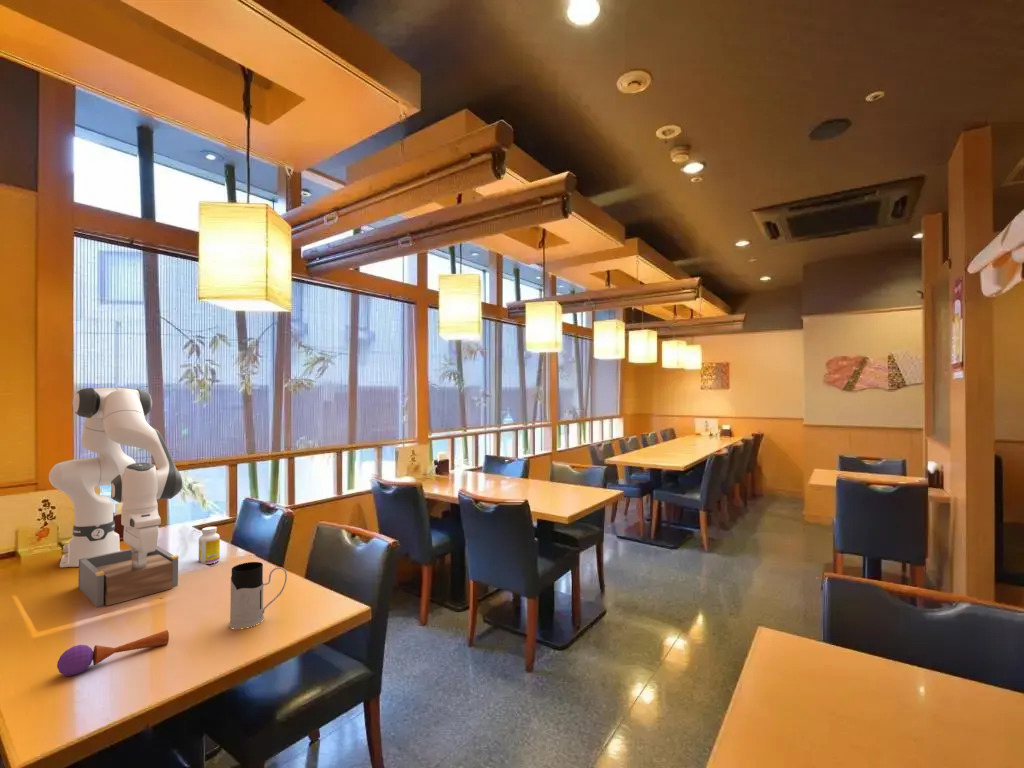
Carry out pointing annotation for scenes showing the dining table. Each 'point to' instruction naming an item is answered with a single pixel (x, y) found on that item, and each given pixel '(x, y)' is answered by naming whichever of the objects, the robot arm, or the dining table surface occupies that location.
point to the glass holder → (248, 594)
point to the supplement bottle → (209, 546)
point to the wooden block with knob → (136, 578)
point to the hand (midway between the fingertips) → (139, 562)
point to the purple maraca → (102, 653)
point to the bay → (94, 579)
